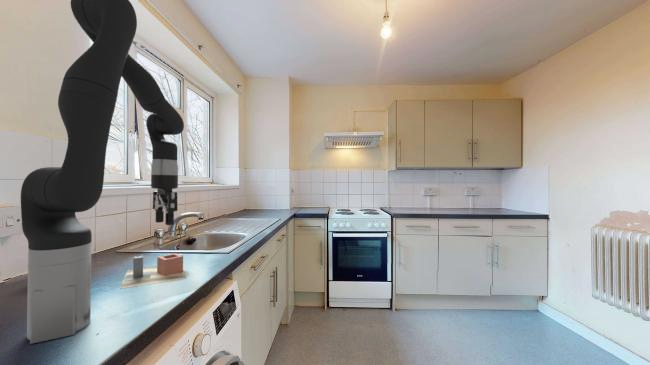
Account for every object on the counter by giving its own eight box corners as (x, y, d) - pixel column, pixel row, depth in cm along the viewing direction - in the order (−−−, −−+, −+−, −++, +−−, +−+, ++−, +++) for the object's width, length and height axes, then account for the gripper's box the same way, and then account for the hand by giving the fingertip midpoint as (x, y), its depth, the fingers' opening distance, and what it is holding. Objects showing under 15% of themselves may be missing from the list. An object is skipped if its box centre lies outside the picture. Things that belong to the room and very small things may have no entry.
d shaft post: (142, 280, 81) (142, 257, 82) (133, 282, 80) (133, 258, 80) (143, 278, 84) (143, 255, 84) (133, 279, 82) (134, 256, 82)
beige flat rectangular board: (185, 282, 81) (186, 277, 81) (119, 293, 72) (120, 288, 72) (182, 266, 96) (182, 262, 96) (127, 273, 88) (127, 269, 88)
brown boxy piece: (185, 270, 87) (185, 255, 87) (164, 276, 82) (164, 260, 82) (178, 267, 91) (178, 252, 91) (157, 272, 86) (157, 256, 86)
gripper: (186, 174, 85) (185, 224, 85) (168, 174, 94) (168, 220, 94) (160, 173, 79) (159, 227, 79) (144, 174, 89) (143, 222, 88)
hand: (164, 223), depth 87 cm, fingers open, 8 cm apart
